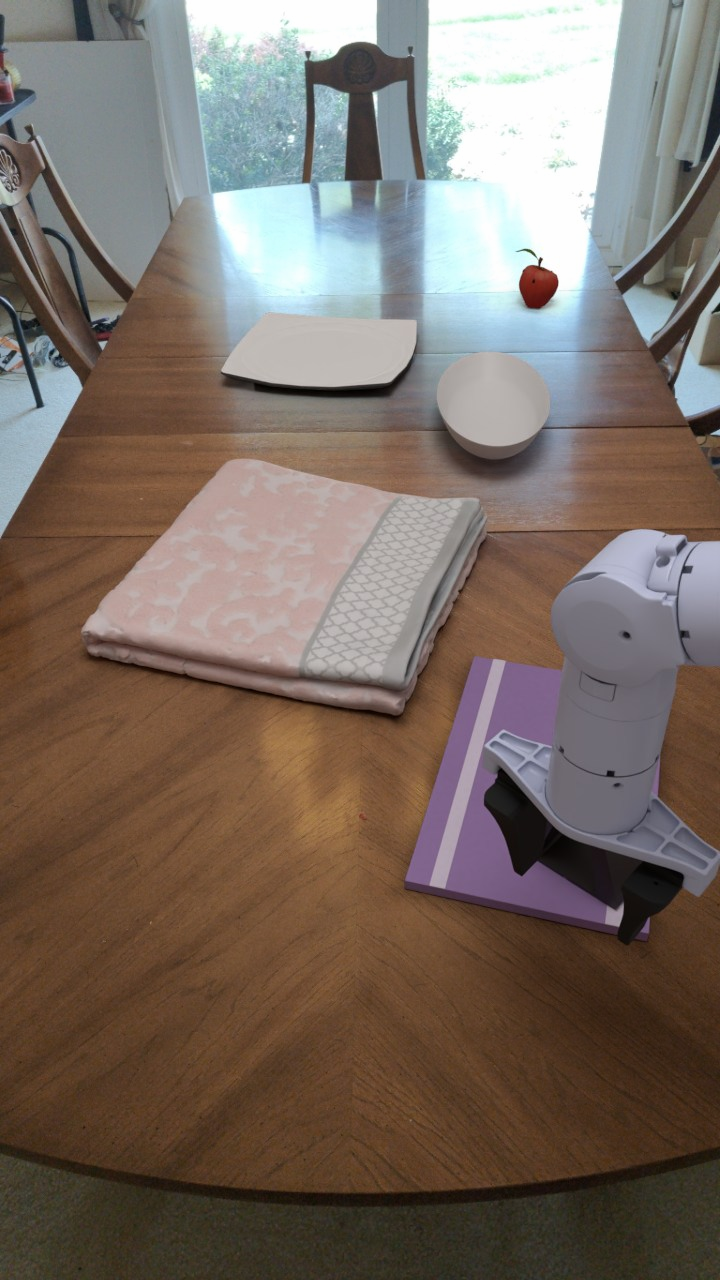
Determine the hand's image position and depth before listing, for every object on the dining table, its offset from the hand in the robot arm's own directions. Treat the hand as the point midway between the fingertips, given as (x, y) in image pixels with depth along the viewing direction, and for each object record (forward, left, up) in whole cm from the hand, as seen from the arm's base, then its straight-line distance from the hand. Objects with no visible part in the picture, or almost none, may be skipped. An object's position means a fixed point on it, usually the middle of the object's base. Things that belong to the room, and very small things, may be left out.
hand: (577, 897), depth 61 cm
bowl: (+55, -65, -11) cm, 86 cm away
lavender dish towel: (+12, -16, -10) cm, 23 cm away
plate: (+91, -69, -11) cm, 115 cm away
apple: (+80, -111, -11) cm, 137 cm away
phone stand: (+5, -11, -10) cm, 15 cm away
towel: (+48, -22, -11) cm, 54 cm away
